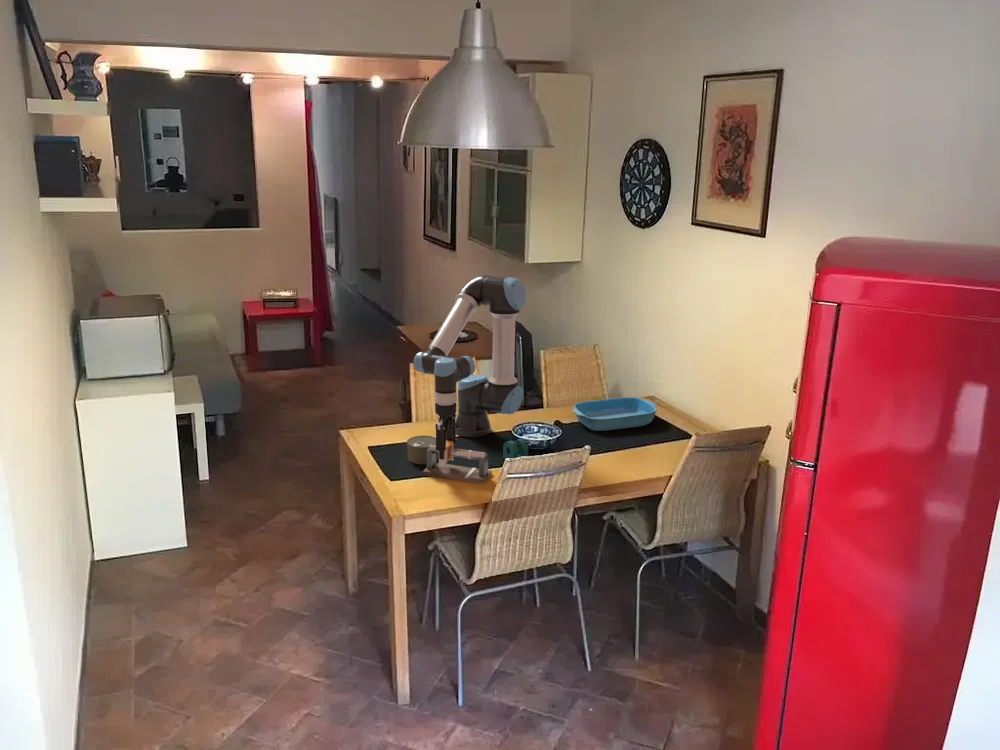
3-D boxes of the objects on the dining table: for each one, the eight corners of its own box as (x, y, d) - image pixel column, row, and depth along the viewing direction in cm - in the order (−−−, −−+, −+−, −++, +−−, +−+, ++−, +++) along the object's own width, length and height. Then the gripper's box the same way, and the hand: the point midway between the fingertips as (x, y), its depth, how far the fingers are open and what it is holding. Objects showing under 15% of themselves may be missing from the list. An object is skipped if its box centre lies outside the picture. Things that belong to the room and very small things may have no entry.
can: (445, 456, 314) (445, 439, 312) (427, 467, 304) (426, 449, 302) (419, 449, 320) (419, 433, 318) (400, 460, 310) (400, 443, 308)
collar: (445, 455, 300) (445, 440, 298) (453, 456, 299) (452, 441, 297) (439, 461, 295) (438, 446, 293) (447, 462, 294) (446, 447, 292)
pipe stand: (432, 465, 305) (432, 440, 302) (491, 474, 298) (491, 448, 295) (422, 475, 297) (422, 448, 294) (483, 484, 290) (483, 457, 287)
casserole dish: (585, 436, 336) (585, 419, 334) (563, 418, 356) (564, 402, 354) (665, 426, 347) (666, 410, 345) (640, 409, 367) (641, 394, 365)
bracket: (503, 458, 312) (503, 439, 310) (517, 455, 316) (518, 436, 313) (530, 475, 298) (530, 455, 295) (545, 471, 301) (546, 451, 299)
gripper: (445, 393, 300) (446, 452, 307) (425, 409, 283) (426, 471, 290) (465, 395, 298) (465, 455, 305) (445, 412, 281) (446, 474, 288)
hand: (446, 463), depth 297 cm, fingers closed on collar, 6 cm apart
